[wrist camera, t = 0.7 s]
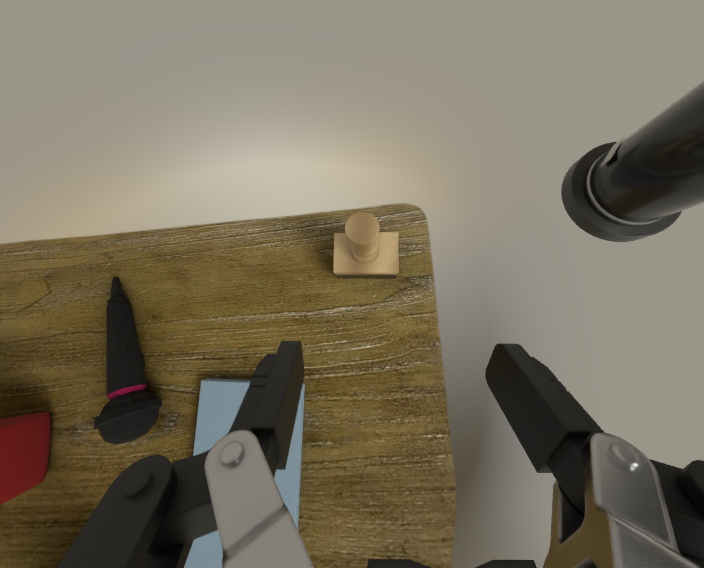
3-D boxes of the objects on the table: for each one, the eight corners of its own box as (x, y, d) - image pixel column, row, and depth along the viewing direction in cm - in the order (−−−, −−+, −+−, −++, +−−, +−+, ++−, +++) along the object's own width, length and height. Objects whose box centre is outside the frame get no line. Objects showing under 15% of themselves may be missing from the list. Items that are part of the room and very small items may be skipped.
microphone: (130, 290, 36) (148, 436, 30) (75, 285, 31) (82, 460, 25) (152, 272, 35) (176, 423, 29) (97, 263, 30) (111, 446, 24)
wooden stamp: (395, 242, 31) (405, 200, 20) (396, 278, 30) (406, 254, 20) (339, 242, 31) (320, 202, 21) (337, 278, 31) (318, 255, 20)
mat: (304, 382, 29) (302, 384, 28) (295, 585, 26) (291, 597, 25) (207, 378, 30) (200, 380, 29) (187, 571, 27) (178, 582, 26)
